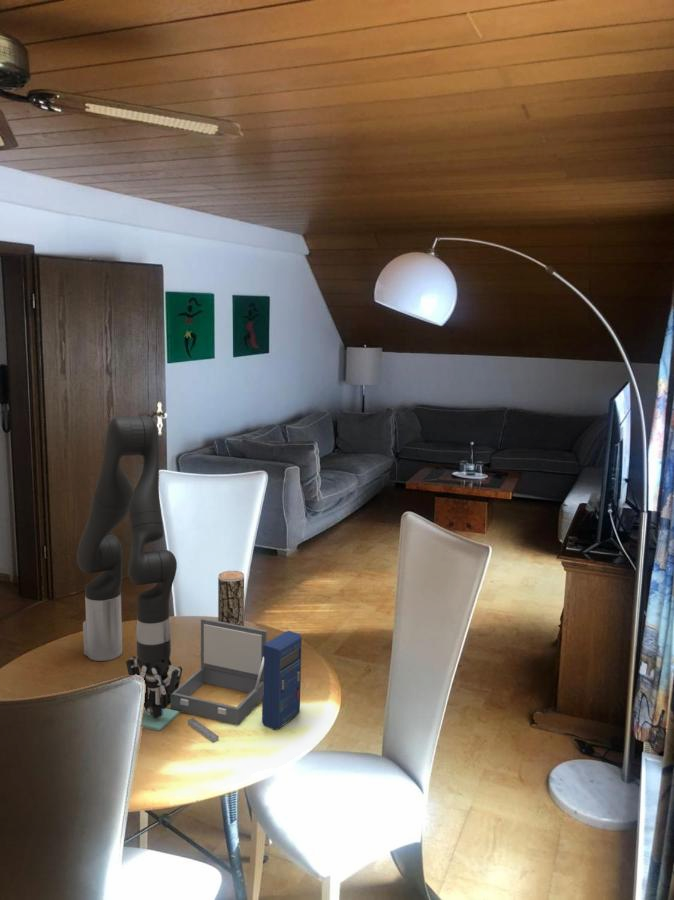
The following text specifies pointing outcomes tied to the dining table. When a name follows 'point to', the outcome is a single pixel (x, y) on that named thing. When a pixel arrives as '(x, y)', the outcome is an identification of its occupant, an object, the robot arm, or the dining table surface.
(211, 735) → the rod
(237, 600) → the brown bark-textured cylinder
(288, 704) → the electronic device
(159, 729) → the pad
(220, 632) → the case
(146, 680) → the push button
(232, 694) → the dining table surface
